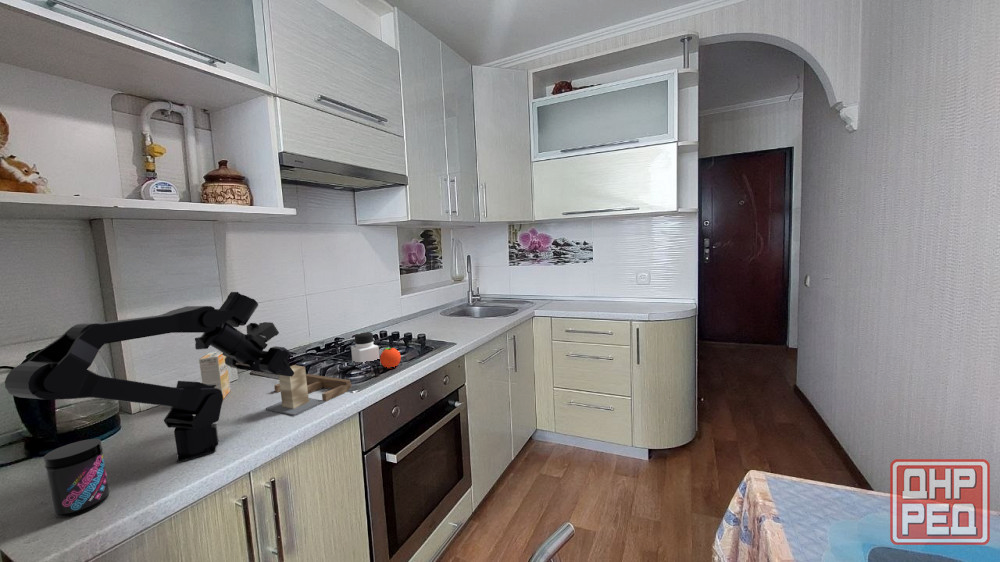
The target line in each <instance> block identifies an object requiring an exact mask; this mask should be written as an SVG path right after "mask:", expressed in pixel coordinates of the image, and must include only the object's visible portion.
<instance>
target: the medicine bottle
mask: <svg viewBox="0 0 1000 562" xmlns="http://www.w3.org/2000/svg"><path fill="white" fill-rule="evenodd" d="M373 335H374V334H373V333H372V332H370V331H362V332H359V333H357V334H355V335H354V342H355V344H354V345H355V346H352V347H350V350H351V361H352V362H353V361H355V362H366V361H374V360H377V359H380V356H381V354H380V347H379V345H377V344H374V336H373Z"/></svg>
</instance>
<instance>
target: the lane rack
mask: <svg viewBox="0 0 1000 562" xmlns="http://www.w3.org/2000/svg"><path fill="white" fill-rule="evenodd" d="M306 381H307V389H308V395H309V394H311V393H313V392H316V391H318V390H320V388H321V389H327V388H330V389H328V391H326V392H323V393H321V398H322V399H321V400H323V401H325V402H328V401H330V399H331V400H332V399H333V400H334V399H335V398H336V397H339V396H341V395H343V394H346V393H347V391H348V390H349V389H350V388H351V387H352V382H351V380H350V379H344V378H337V377H331V376H324V375H317V374H312V373H311V374H310V373H306ZM322 387H324V388H322ZM352 388H353V387H352ZM274 392H275V393H281V390H280V382H279V383H277V384H274ZM345 392H346V393H345ZM348 392H349V391H348Z"/></svg>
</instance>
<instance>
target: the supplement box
mask: <svg viewBox="0 0 1000 562" xmlns="http://www.w3.org/2000/svg"><path fill="white" fill-rule="evenodd" d="M222 354H223V352H221V351H219V350H218V351H211V352H208V353H206V354H204V355H203V356H202V357H200V358H199V359H198V362H199V369H200V377H201V383H203V384H213V385H216V387H215V388H217V389H220V390H221V391H222V394H223V400H224V399H225V398H226V396H227V395H228V394H229V393H230V392H231V383H230V375H229V369H228V367H229V366H228V365H226V364H225V358H226V356H224V355H222Z"/></svg>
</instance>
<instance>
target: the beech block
mask: <svg viewBox="0 0 1000 562" xmlns="http://www.w3.org/2000/svg"><path fill="white" fill-rule="evenodd" d="M289 366H290V367H291V369H292V370H293V372H294V375H293V376H292V377H291V376H283V375H278V381H279V383H280V390H281V391H280V397H281V401H282V407H287V408H292V409H294V408H297V407H299V406H301V405H303V404H306V403H308V402H309V398H310V397H309V394H308V389H307V381H306V374H307V373H306V366H301V365H296V364H295V365H294V364H293V365H289Z"/></svg>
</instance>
